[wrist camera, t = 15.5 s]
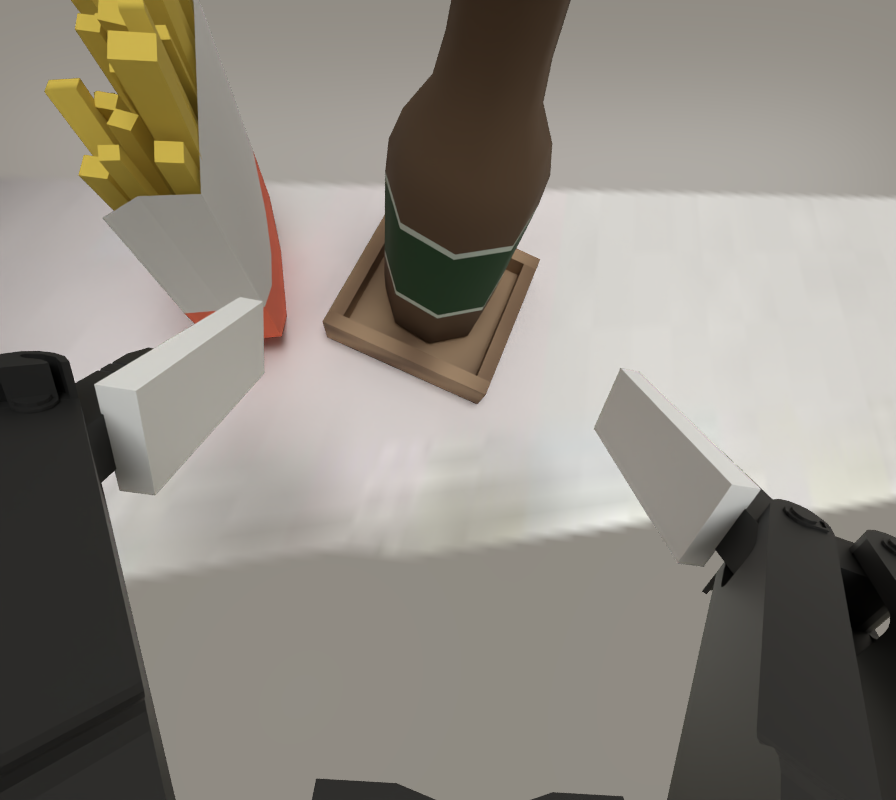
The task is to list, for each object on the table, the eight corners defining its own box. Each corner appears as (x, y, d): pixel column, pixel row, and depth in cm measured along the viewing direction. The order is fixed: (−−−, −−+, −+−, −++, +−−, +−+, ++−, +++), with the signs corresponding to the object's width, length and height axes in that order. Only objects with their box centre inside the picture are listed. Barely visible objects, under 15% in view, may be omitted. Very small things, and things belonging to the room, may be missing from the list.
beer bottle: (392, 245, 31) (420, -485, 8) (489, 265, 32) (756, -347, 9) (375, 337, 29) (351, -317, 6) (481, 355, 30) (802, -156, 7)
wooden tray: (327, 337, 29) (322, 321, 27) (396, 216, 33) (397, 193, 31) (477, 404, 30) (485, 394, 28) (528, 277, 34) (540, 259, 31)
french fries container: (221, 357, 28) (-34, 110, 11) (215, 223, 30) (1, -147, 13) (290, 350, 29) (157, 111, 12) (279, 221, 31) (155, -130, 14)
